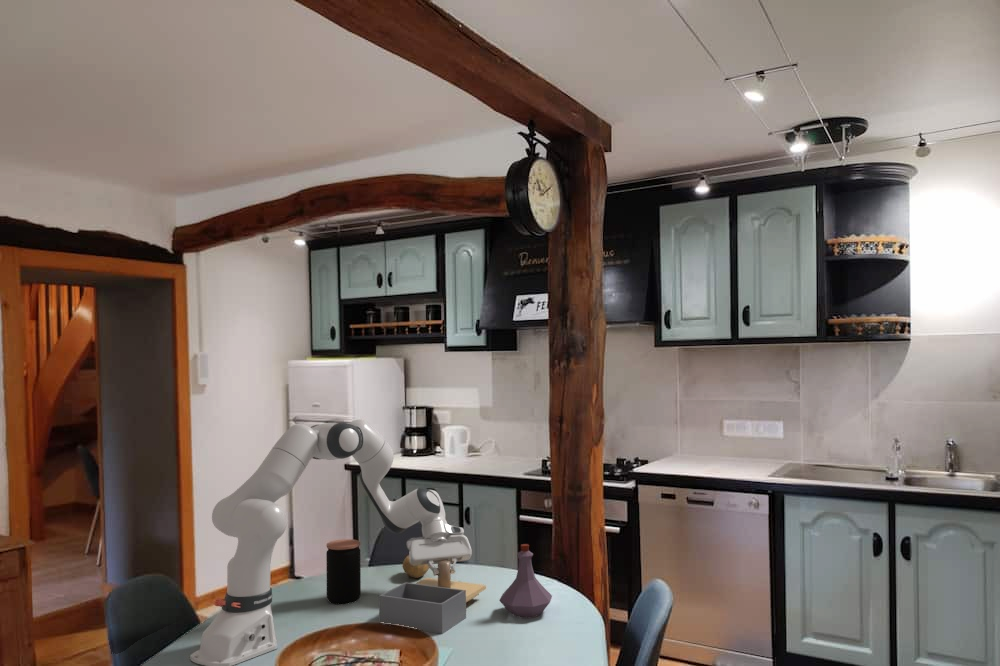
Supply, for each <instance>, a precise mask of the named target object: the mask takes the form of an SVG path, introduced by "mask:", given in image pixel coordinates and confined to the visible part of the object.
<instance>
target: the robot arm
mask: <svg viewBox="0 0 1000 666" xmlns="http://www.w3.org/2000/svg"><path fill="white" fill-rule="evenodd" d="M394 454H395V453H394V450H393V447H392V446H391V445H390V444H389V442H388V441H387V440H386V439H385V437H384V436H383V435H382V434H381V433H380V432H379V431H378V430H377V429H376V428H375V427H373V426H372V425H371V424H370V423H369V422H367V421H366V420H365V419H359V418H358V419H355V420H352V421H350V422H349V423H348V422H342V421H341V422H327V423H321V424H315V425H312V426H309V425H307V424H303V423H296V424H293V425H292V426H290V427H289V428H288V429H287V430H286V431H285V432H284V433H283V434H282V435H281V437H280V438H279V439H278V440H277V441H276V442H275V444H274V445H273V446H272V448H271V450H269V452H268V453H267V455H266V456H265V458H264V460H262V462H261V463H260V465H259V467H258V468H257V470H255V471H254V473H253V474H252V475H251V476H249V478H248V479H247V480H246V481H244V483H243V484H242V485H241V486H239V488H237V489H236V490H235V491H233V493H230V495H227V496H226V497H224V498H221V499H220V500H219V501H218V502H217V503H216V504H215V506H214V507H213V509H212V512H211V519H212V520H211V521H212V524H213V527H214V528H216V529H217V530H218V531H220V532H221V533H223V534H224V535H226V536H228V537H232V538H237V545H236V550H235V554H234V555H233V557H232V558H231V559H230V560H229V561H228V563H227V567H226V568H227V571H226V573H227V577H226V583H227V587H226V590H227V592H225V595H224V598H220V597H217V598H215V600H214V602H213V603H214V606H215V607H221V610H220V612H218V614H217V615H216V617H215V618H213V620H212V621H211V623H210V624H209V625H208V626H207V628H205V629H204V630H203V632H202V635H201V639H200V644H199V645H200V648H199V649H198V650H196V651H194V652H193V653H191V654H190V656H189V657H190V658H189V659H190V661H192V662H193V663H194V664H197V665H201V666H235V665H236V664H240V663H243V662H246V661H247V660H250V659H253V658H256V657H258V656H261V655H264V654H266V653H268V652H269V653H270V652H272V651H274V650H276V649H278V643H277V636H276V632H275V626H274V617H273V616H274V615H273V612H272V605H271V603H272V602H273V589H272V587H271V564H272V557H273V552H274V549H275V546H276V544H277V541H278V540H279V539H280V538H281V537H282V536H283V535H284V534H285V532H286V530H287V527H288V515H287V512H286V510H285V509H284V508H283V507H282V506H281V505H278V504H277V503H275V502H277V501H278V500H279V499H281V498H282V497H285V496H286V495H288V494H289V493H290V492H291V491H292V490H293V489H294V487H295V485H296V484H297V482H298V480H300V477H301V476H302V474H303V473H304V471H305V469H306V468H307V466H308V465H309V463H310V461H312V459H313V460H327V461H334V460H335V461H336V460H342V459H343V460H345V459H347V458H349V457H352V458H353V459H354V460H355V461H356V462H357V464H358V465H359V467H360V470H361V471H360V473H359V480H360V483H361V484H362V487H363V489H364V490H365V493H366V495H367V496H368V498H369V499H370V501H371V502H372V504H373V506H374V507H375V509H376V511H377V513H378V515H379V516H380V519H381V521H382V523H383V525H384V527H385V528H386V529H387V530H388V531H389V532H391V533H394V534H401V533H403V532H404V531H406V530H407V529H408V528H410V527H412V526H413V525H415V524H417V523H419V522H420V524H421V533H422V536H418V537H410V538H409V539H407V541H406V549H407V550H408V551H409V552H408V553H409V554H408V555H409V559H410V564H411V565H413V566H417V565H427V564H428V567H429V569H430V570H431V571H432V573H433V576H434V577H435V576H438V575H439V571H438V570H439V569H438V567H435V565H434V564H438V561H442V560H448V561H450V570H451V574H452V575H453V574H455V573H456V567H455V566H456V563H457V562H461V561H462V562H463V561H469V560H470V559H471V557H472V554H473V551H472V547H471V544H470V541H469V539H468V537H467V535H464V534H465V530H464V527H460V526H456V525H451V524H448V521H447V520H446V510H445V507H444V503H443V500H442V498H441V497H440V495H439V493H438V491H436V490H433V489H427V488H424V487H418V488H416V489H414V490H412V491H410V492H408V493H406V494H405V495H404V496H402V497H400V498H398V499H397V500H390V499H389V498H388V497H387V495H386V493H385V491H384V489H383V488H382V487H381V484H380V483H381V481H382V480H383V479H384V478H385V476H386V475H387V474H388V472H389V471H390V469H391V468H392V465H393V462H394V457H395V455H394Z"/></svg>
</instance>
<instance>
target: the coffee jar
mask: <svg viewBox="0 0 1000 666" xmlns="http://www.w3.org/2000/svg"><path fill="white" fill-rule="evenodd" d="M360 545H361V541H360V540H357V539H355V538H354V539H351V538H346V539H345V538H342V539H335V540H331V541H329V542H327V543H326V549H327V550H326V556H325V557H326V558H325V559H326V560H325V561H326V599H327V601H328V603H330V604H332V605H349V604H352V602H353V603H355V601H356V602H358V600H359V599H360V597H361V595H362V593H361V589H362V588H361V585H362V584H361V577H362V576H361V572H362V571H361V549H360ZM348 603H349V604H348Z"/></svg>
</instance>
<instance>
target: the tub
mask: <svg viewBox="0 0 1000 666" xmlns="http://www.w3.org/2000/svg"><path fill="white" fill-rule="evenodd" d="M378 600H379V601H378V602H379V603H378V607H379V608H378V610H379V611H378V613H379V614H378V615H379V619H378V620H379V622H384V623H391V624H399V625H404V626H409V627H414V628H417V629H420V630H419V631H422V630H423V631H424V632H429V633H435V634H442V635H443V634H444V633H446V632H447V631H449V630H450V629H452V628H453V627H455V626H456V625H457V624H459V623H461V622H462V621H463V620H465V619H466V618H467V602H466V590H460V589H453V588H445V587H437V586H430V585H422V584H415V583H413V582H406V581H405V582H403V583H401V584H399V585H398V586H395V587H394V588H392V589H389V590H388V591H385V592H383V593H382V594H380V595H378Z"/></svg>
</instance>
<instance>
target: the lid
mask: <svg viewBox="0 0 1000 666" xmlns="http://www.w3.org/2000/svg"><path fill="white" fill-rule="evenodd" d="M450 566H451V562H450V561H448V560H442V561H438V563H437V568H438V569H439V570H438V571H439V575H437V578H431V577H424V578H423V579H421V580H419V581H417V582H415V583H414V584H422V585H430V586H437V587H445V588H453V589H460V590H466V603H468V602H470V601H472V600H473V599H474V598H476V597H478V596H479V595H480V593H482V592H484V591H485V590H487V585H486V584H480V583H472V582H465V581H464V582H463V581H456V580H452V579H451V577H452V576H451V570H450Z"/></svg>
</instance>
